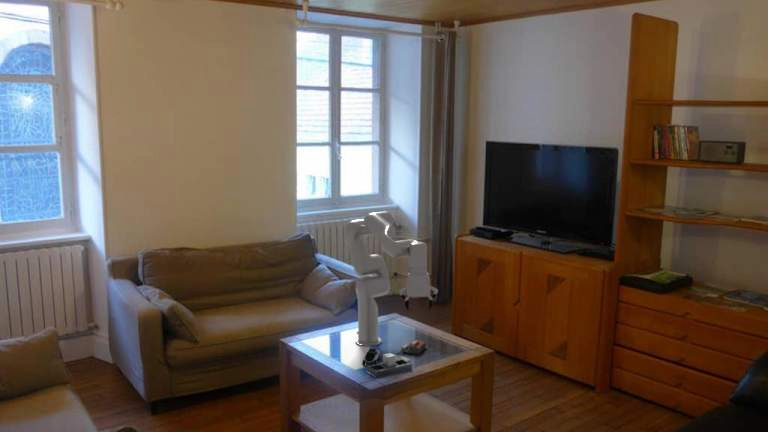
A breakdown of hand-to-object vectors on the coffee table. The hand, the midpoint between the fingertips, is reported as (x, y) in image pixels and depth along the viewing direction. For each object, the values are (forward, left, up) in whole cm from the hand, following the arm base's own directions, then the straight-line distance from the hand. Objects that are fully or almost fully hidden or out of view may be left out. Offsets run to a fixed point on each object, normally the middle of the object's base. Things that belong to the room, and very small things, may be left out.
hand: (418, 308), depth 296 cm
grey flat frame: (+1, -16, -25) cm, 29 cm away
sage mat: (-7, -6, -25) cm, 26 cm away
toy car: (-12, -17, -25) cm, 33 cm away
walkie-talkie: (-13, +5, -24) cm, 28 cm away
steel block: (+1, -16, -25) cm, 29 cm away
